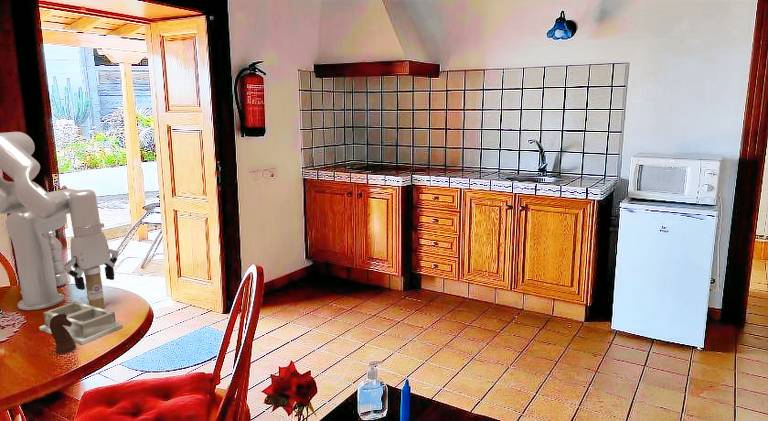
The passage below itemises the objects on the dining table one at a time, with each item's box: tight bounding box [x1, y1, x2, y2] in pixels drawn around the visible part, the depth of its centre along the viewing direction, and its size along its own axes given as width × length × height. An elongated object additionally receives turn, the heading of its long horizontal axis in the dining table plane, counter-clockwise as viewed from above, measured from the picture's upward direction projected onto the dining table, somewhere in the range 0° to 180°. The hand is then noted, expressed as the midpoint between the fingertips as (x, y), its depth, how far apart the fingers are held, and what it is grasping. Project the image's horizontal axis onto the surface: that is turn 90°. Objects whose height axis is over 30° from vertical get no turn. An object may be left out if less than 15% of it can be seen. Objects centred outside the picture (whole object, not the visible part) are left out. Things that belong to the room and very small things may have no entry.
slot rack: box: [38, 301, 123, 345], centre depth 154 cm, size 20×12×5 cm, turn 61°
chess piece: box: [50, 313, 77, 355], centre depth 140 cm, size 5×5×10 cm
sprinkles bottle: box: [83, 265, 106, 309], centre depth 168 cm, size 5×5×13 cm
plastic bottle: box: [42, 230, 68, 287], centre depth 188 cm, size 6×7×20 cm
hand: (96, 284), depth 168 cm, fingers open, 9 cm apart
